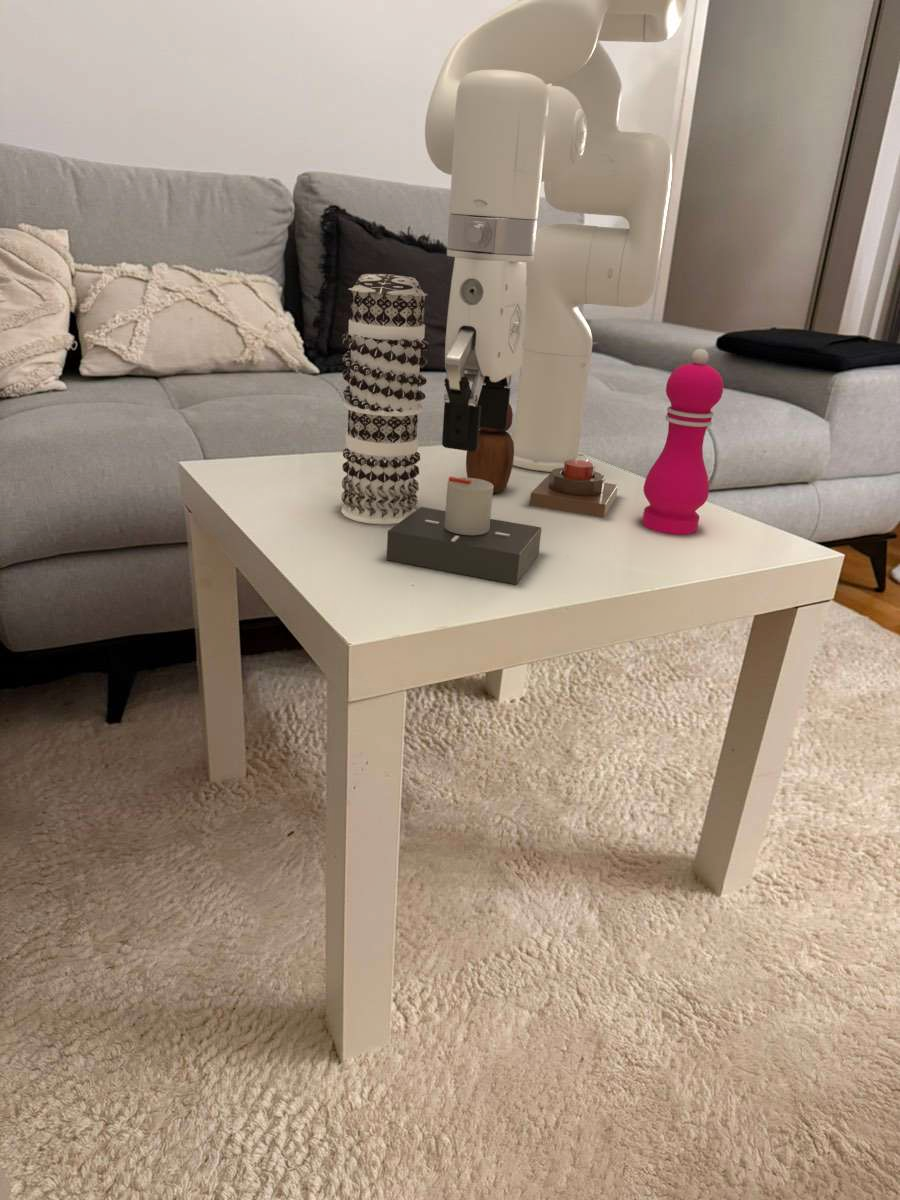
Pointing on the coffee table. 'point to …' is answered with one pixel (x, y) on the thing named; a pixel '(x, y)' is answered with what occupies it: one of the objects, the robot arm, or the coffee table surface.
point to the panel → (464, 547)
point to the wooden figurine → (492, 456)
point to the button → (578, 469)
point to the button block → (574, 494)
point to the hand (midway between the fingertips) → (475, 437)
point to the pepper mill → (683, 449)
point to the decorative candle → (383, 398)
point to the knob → (468, 506)
